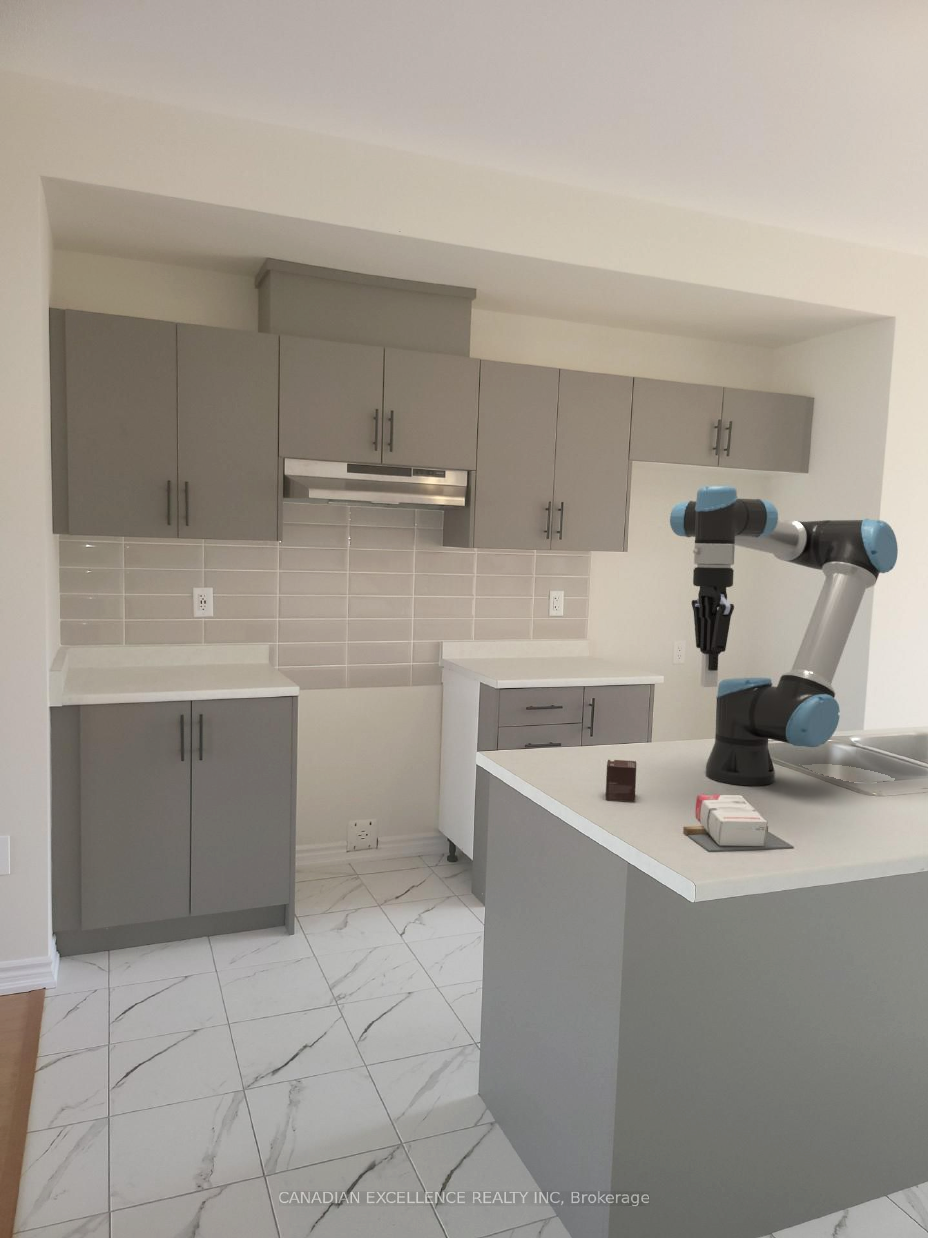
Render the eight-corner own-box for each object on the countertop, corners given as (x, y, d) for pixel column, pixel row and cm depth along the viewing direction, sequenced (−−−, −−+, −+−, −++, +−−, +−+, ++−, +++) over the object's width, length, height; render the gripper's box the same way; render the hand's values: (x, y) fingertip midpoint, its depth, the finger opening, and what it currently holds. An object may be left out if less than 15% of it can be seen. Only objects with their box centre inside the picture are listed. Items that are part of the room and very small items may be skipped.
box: (635, 803, 177) (636, 767, 177) (605, 800, 178) (606, 765, 178) (635, 795, 183) (636, 760, 182) (606, 792, 184) (607, 758, 184)
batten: (763, 830, 161) (763, 823, 161) (767, 832, 160) (768, 826, 160) (683, 833, 158) (683, 826, 158) (686, 835, 157) (687, 829, 157)
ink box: (693, 818, 162) (717, 847, 150) (696, 793, 161) (720, 820, 149) (738, 819, 162) (765, 848, 151) (742, 794, 161) (768, 821, 150)
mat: (769, 833, 159) (769, 832, 159) (793, 848, 151) (793, 846, 151) (688, 836, 156) (688, 835, 156) (708, 852, 148) (708, 850, 148)
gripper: (680, 565, 175) (676, 681, 177) (711, 567, 162) (707, 692, 164) (715, 565, 176) (710, 680, 178) (748, 567, 163) (743, 691, 165)
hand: (709, 686), depth 171 cm, fingers closed
